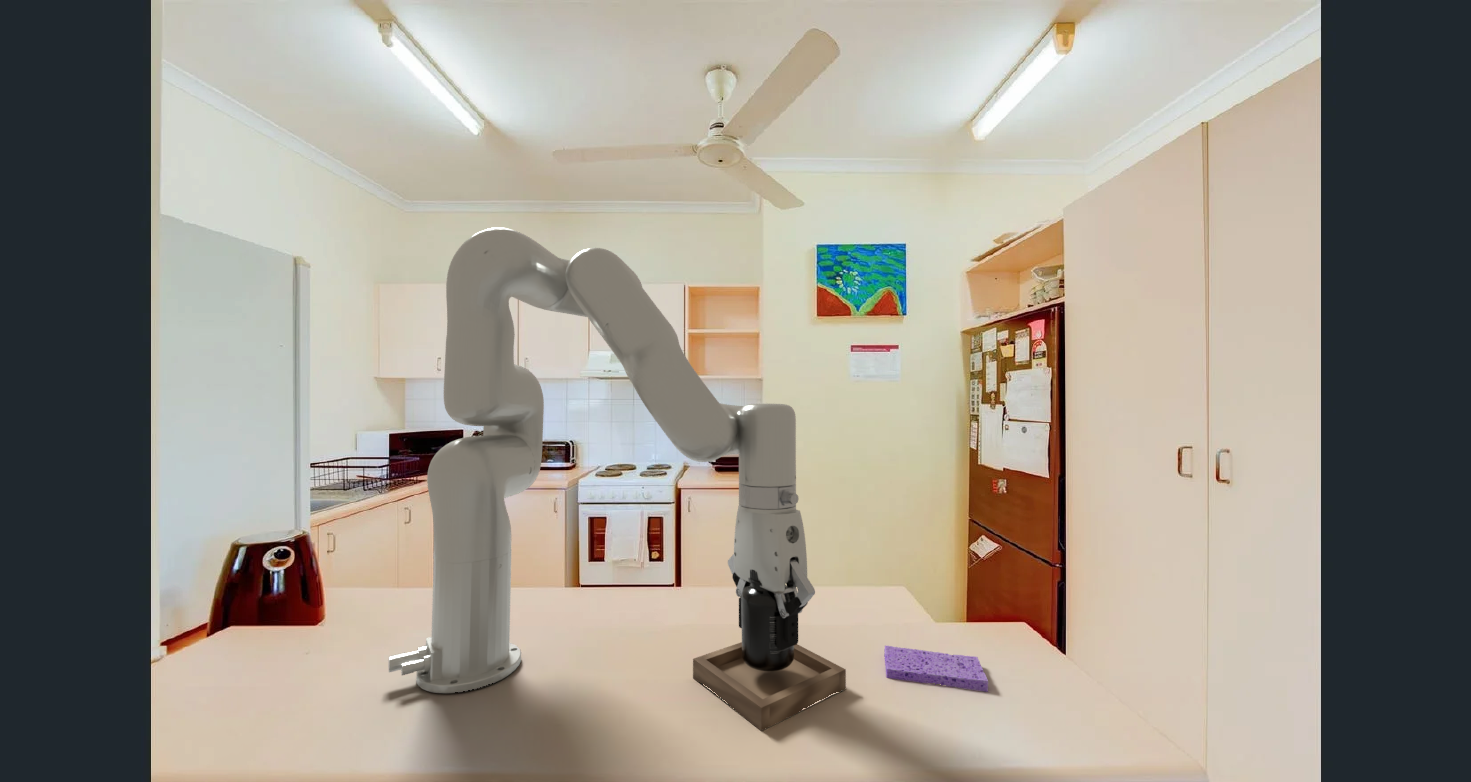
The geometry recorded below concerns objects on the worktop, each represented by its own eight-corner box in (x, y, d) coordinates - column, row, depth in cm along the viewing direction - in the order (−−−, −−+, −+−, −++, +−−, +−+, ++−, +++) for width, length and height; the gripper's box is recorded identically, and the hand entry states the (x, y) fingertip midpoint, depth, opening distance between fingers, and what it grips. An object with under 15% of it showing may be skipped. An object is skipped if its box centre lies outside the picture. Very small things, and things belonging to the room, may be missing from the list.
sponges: (988, 696, 64) (988, 681, 64) (884, 681, 67) (884, 667, 67) (978, 669, 71) (978, 655, 71) (884, 657, 74) (884, 644, 74)
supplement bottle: (793, 649, 69) (793, 559, 69) (794, 675, 62) (794, 575, 63) (743, 646, 70) (743, 557, 70) (738, 671, 63) (739, 573, 63)
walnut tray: (761, 731, 56) (761, 707, 56) (692, 678, 67) (693, 658, 67) (845, 689, 64) (845, 669, 65) (772, 648, 76) (772, 631, 76)
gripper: (837, 503, 62) (838, 652, 61) (748, 487, 76) (748, 608, 75) (792, 511, 58) (792, 671, 57) (706, 491, 71) (706, 621, 71)
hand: (767, 634), depth 66 cm, fingers closed on supplement bottle, 6 cm apart
